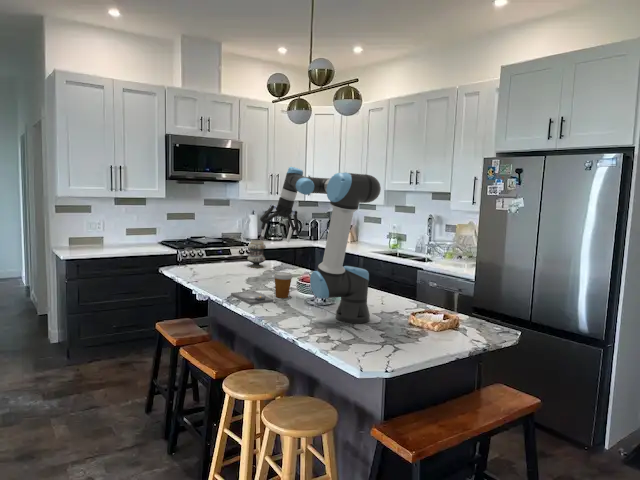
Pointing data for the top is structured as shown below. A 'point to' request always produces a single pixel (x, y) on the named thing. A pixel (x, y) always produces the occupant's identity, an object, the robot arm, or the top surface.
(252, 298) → the mug warmer
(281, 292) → the disposable coffee cup
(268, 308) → the top surface
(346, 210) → the robot arm
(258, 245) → the grey stone vase
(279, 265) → the top surface
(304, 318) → the top surface
